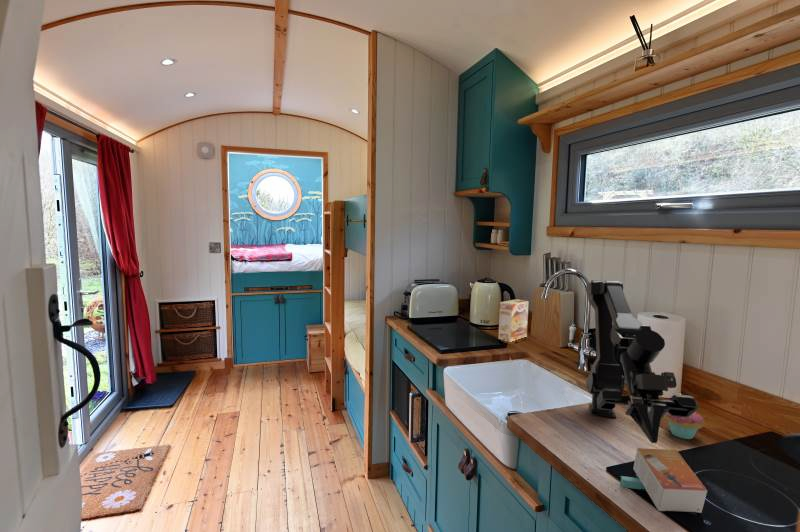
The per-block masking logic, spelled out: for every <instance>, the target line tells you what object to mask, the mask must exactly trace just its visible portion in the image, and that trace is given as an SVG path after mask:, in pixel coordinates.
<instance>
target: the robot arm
mask: <svg viewBox="0 0 800 532" xmlns="http://www.w3.org/2000/svg"><path fill="white" fill-rule="evenodd" d="M585 292H586V295H587V297H588V298H587V300H588V303H589V304H590V305H591V307H592V309H593V310H594V320H595V321H594V323H595V347H596V348H595V349H596V359H595V361H594V362H593V364H592V365H591V367H590V373H589V374H588V377H587V378H586V380H585V386H586V389H587V391H588V392H589V394H591V396H592V397H591V404H588V407H589V408H588V409H589V411H590V414H591V415H592V416H598V417H603V418H604V417H605V418H606V417H607V418H611V419H617V414H616V413H615V410H614V409H615V408H616V405H621V406H623V405H624V406H625V408H626V410H625V415H626V416H629V417H631V418H632V420H633V421H634V422H635V423H636V424H637V425H638V427H639V428H640V429H641V431H642V432H643V434H645V437H647V438H646V439H648V440H649V441H650V443H651V444H657V443H658V440H659V439H658V437H659V433H660V432H659V431H660V424H661V419H662V418H663V417H664V415H665V414H666V413H667V412H668V413H669V414H670V415H672V416H676V417H689V416H690V415H692V414H693V413H694V412H696V411H697V410H699V408H700V407H699V404H698V401H697V399H696V398H695V397H693V396H692V395H685V394H681V395H678V394H676V393H675V394H672V396H671V397H670V398H669V399H664V398H659V397H662V396H663V395H664V391H665V392H668V391H669V389H674V388H677V385H678V384H677V378H676V375H675V373H674V372H672V371H663V372H661V374H656V372H654V371H652V367H651V363H653V362H654V361H655V360H656V359H657V357H658V356H659V355H660V353H661V352H662V351H663V349H664V348H665V347H666V343H665V339H664V338H663V336H661V335H660V333H658V332H656V331H654V330H653V329H652V328H651V326H650V325H643V323H642V321H641V320H639V319H638V318H636V317H634V315H633V313H632V311H631V309H630V305H629V303H628V300H627V298H626V295H625V293H624V285H623V282H622V281H620V280H619V281H618V280H598V279H597V280H595V279H592V280H590V282H589V283H587V284H586V287H585ZM615 348H618V349H624V350H623V351H622V352H621V353H620V356H619V357H620V358H619V362H620V364H619V363H618V362H617V361H616V359H615ZM623 374H624V375H623ZM625 386H626V389H627V394H628V395H623V393H624V388H625Z"/></svg>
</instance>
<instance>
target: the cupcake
mask: <svg viewBox="0 0 800 532" xmlns="http://www.w3.org/2000/svg"><path fill="white" fill-rule="evenodd" d="M677 395H682V393H681V392H680V390H678V394H677ZM663 417H664V419H665V420H666V421H667V422H668V425H669V428H670V432H671V435H673V436H675V437H677V438H680V439H684V440H691V439H694V437H695V435H696V433H697V431H699V429H702V428H703V427H704V419H703V416H701V415H700V414H699V413H697V412H696V411H695V412H694V413H693V414H692V415H690V416H689V417H676V416H672V415H670V414H669V413H668V412H667V413H666V414H665V415H664V416H663Z"/></svg>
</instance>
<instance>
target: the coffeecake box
mask: <svg viewBox="0 0 800 532" xmlns="http://www.w3.org/2000/svg"><path fill="white" fill-rule="evenodd" d="M529 302H530V301H528V300H524V299H518V298H516V299H511V300H505V301H500V302H499V319H498V339H501V340H505V341H509V342H512V341H515V340H518V339H521V338H524V337H527V338H528V323H529V322H528V319H529V304H530V303H529ZM498 339H497V340H498Z"/></svg>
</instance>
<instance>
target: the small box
mask: <svg viewBox="0 0 800 532" xmlns="http://www.w3.org/2000/svg"><path fill="white" fill-rule="evenodd" d="M633 471H634V473H635V475H636V476H637V478H639V479H640V481H641V482H642V484H643V486H644V488H645V489H646V490H645V491H646V492H647V494H648V495H649V497H650V499H651V501H652V502H653V504H654V506H655V507H656V510H657V511H659V512H667V511H668V512H683V513H684V512H685V513H700V514H702V512H703V509H704V505H705V500H706V497H707V494H708V489H707V488H706V487H705V485H703V483H702V482H701V480H700V479H699V477H698V476H697V475H696V473H695V472H694V471H693V470H692V469H691V467H690V465H688V464H687V462H686V461H685V459H684V458H683V456H682V455H681V454H680V453H679V452H678V450H677V449H665V448H663V449H660V448H642V447H641V448H640V447H637V448H636V453H635V458H634V464H633Z"/></svg>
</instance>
